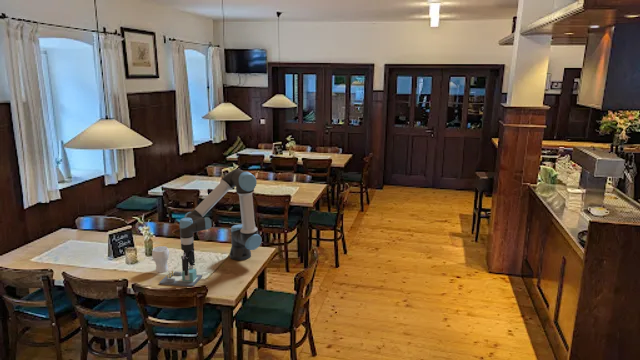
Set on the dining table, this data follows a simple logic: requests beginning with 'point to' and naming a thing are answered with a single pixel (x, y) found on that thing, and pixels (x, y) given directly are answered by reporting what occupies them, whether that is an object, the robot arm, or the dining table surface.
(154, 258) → the cup
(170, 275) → the header board
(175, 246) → the dining table surface
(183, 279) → the plug block
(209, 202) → the robot arm
